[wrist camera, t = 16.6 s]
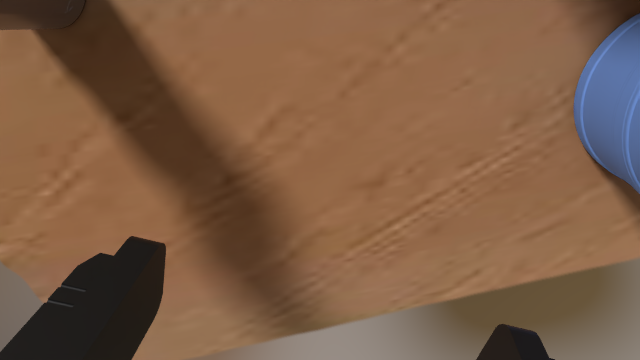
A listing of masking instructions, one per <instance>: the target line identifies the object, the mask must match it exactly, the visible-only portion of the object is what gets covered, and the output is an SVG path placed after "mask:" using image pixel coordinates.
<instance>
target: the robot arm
mask: <svg viewBox="0 0 640 360" xmlns="http://www.w3.org/2000/svg"><path fill="white" fill-rule="evenodd" d="M84 3H85V0H0V30H20V29H59V28H64V27H66V26H68V25H70V24H72V23H73V22H74V21H75V20H76V19H77V18H78V16H79V15H80V13H81V12H82V9H83V6H84ZM165 255H166V246H165V244H164V243H160V242H155V241H151V240H147V239H143V238H138V237H134V236H131V237H129V238H128V239H127V240H126V241H125V243H124V244H123V245H122V246H121V248H120V249H119V250H118V251H117V253H116V254H115V255H114V256H112V255H108V254H103V253H99V254H98V255H96V256H94V257H92V258H90V259H89V260H87V261H85V262H83V263H82V264H80V265H78V266H77V267H76V268H75V269H74V270H73V272H72V273H71V274H70V275H69V276H68V277H67V278H66V279H65V280H64V282H63V283H62V285H61V287H58V288H57V289H56V291H55V292H54V293H53V294H52V295H51V296H50V297H49V298H48V301H47V303H44V304H43V305H42V306H41V307H40V309H39V310H38V311H37V312H36V313H35V314H34V315H33V316H32V317H31V318H30V320H29V321H28V322H27V323H26V324H25V325H24V326H23V327H22V328H21V330H20V331H19V332H18V333H17V334H16V335H15V336H14V337H13V339H12V340H11V341H10V342H9V343H8V344H7V345H6V346H5V347H4V349H3V350H2V351H1V352H0V360H132V358H133V356H134V354H135V352H136V351H137V349H138V347H139V345H140V343H141V342H142V340H143V338H144V336H145V334H146V333H147V331H148V329H149V327H150V325H151V324H152V322H153V320H154V318H155V316H156V314H157V311H158V309H159V306H160V303H161V299H162V294H163V283H164V269H165ZM476 360H555V359H551V358H549V357H548V354H547V352H546V350H545V348H544V346H543V344H542V342H541V340H540V338H539V336H538V335H537V333H535V332H533V331H531V330H526V329H522V328H518V327H514V326H509V325H505V324H501V325H498V326H497V327H496V328H495V330H494V331H493V333H492V335H491V336H490V338H489V340H488V341H487V343H486V344H485V346H484V348H483V349H482V351H481V353H480V354H479V356H478V358H477V359H476Z"/></svg>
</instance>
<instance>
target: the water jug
mask: <svg viewBox="0 0 640 360" xmlns="http://www.w3.org/2000/svg"><path fill="white" fill-rule="evenodd" d="M574 119H575V125H576V129H577V132H578V135H579V137H580V140H581V142H582V144H583V145H584V147H585V148H586V150H587V151H588V153H589V154H590V155H591V156H592V157H593V158H594V159H595V160H596V161H597V162H598V163H599V164H600V165H602V166H603V167H604V168H605V169H607V170H608V171H609V172H611V173H612V174H614V175H616V176H617V177H619V178H621V179H623V180H624V181H626V182H627V183H628V184H630V185H631V186H632V187H633V188H634V189H635V190H636V191H637V192H638V193H639V194H640V13H639V14H637V15H635V16H633V17H632V18H630V19H629V20H627V21H626V22H624V23H623V24H622V25H620V26H619V27H618V28H617V29H615V30H614V31H613V32H612V33H611V34H610V35H609V36H608V37H607V38H606V39H605V40H604V41H603V42H602V43H601V44H600V45H599V47H598V48H597V49H596V50H595V52H594V53H593V54H592V56H591V57H590V59H589V61H588V62H587V64H586V66H585V68H584V70H583V72H582V74H581V76H580V79H579V82H578V85H577V88H576V93H575V99H574Z"/></svg>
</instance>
